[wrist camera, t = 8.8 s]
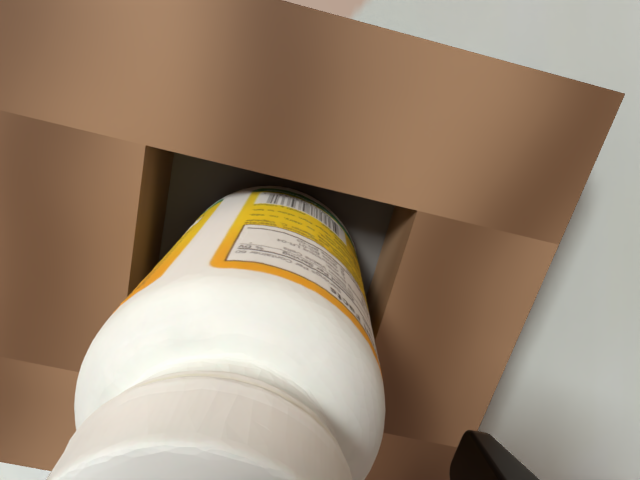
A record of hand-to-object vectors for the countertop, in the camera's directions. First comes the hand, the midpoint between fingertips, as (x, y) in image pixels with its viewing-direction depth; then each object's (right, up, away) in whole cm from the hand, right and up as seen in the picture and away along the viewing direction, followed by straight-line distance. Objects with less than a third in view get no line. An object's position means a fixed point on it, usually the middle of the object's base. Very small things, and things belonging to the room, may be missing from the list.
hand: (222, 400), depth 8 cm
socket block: (0, +2, +7) cm, 8 cm away
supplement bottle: (0, +2, +6) cm, 7 cm away
